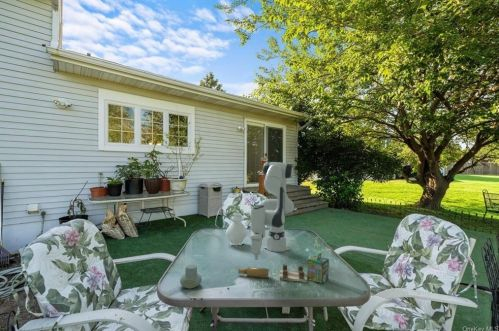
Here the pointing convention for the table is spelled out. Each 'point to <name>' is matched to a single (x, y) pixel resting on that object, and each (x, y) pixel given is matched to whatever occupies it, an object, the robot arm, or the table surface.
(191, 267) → the air freshener
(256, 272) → the amber bottle
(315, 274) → the chalk box
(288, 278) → the bottle rest
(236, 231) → the decorative vase
